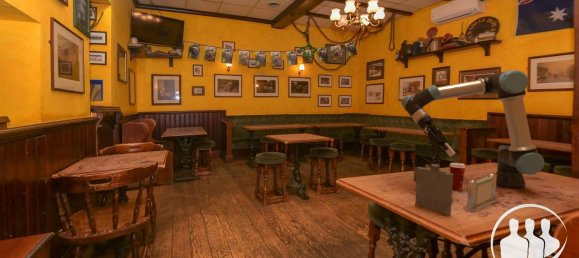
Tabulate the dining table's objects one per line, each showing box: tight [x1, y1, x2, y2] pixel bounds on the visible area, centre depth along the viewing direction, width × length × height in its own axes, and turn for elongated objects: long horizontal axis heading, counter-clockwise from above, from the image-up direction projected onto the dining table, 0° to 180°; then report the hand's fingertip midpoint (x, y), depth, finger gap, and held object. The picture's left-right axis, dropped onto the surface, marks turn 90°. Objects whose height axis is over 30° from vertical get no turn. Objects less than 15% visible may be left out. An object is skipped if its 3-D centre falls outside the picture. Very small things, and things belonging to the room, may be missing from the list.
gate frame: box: [462, 172, 499, 213], centre depth 135 cm, size 25×5×13 cm, turn 127°
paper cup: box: [449, 162, 466, 192], centre depth 160 cm, size 8×8×14 cm
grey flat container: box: [413, 164, 431, 182], centre depth 178 cm, size 11×3×10 cm, turn 113°
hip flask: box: [414, 163, 453, 217], centre depth 128 cm, size 16×4×20 cm, turn 32°
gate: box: [475, 176, 493, 206], centre depth 135 cm, size 18×2×10 cm, turn 127°
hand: (452, 154), depth 145 cm, fingers closed
